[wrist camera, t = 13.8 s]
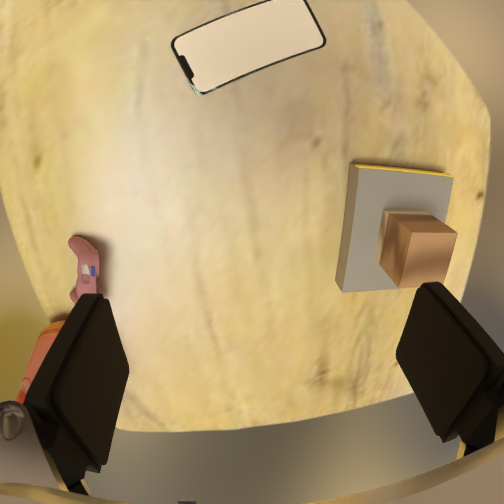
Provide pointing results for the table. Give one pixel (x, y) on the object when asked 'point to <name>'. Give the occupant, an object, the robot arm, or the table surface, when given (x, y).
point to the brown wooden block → (414, 247)
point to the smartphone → (246, 42)
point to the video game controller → (84, 267)
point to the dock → (370, 213)
